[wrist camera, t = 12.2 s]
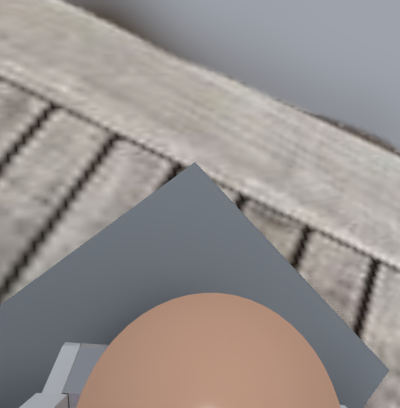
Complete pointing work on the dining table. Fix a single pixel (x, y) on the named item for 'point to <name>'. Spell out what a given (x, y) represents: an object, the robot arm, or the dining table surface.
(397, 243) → the dining table surface
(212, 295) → the tan rounded cylinder
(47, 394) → the robot arm
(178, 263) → the mat
